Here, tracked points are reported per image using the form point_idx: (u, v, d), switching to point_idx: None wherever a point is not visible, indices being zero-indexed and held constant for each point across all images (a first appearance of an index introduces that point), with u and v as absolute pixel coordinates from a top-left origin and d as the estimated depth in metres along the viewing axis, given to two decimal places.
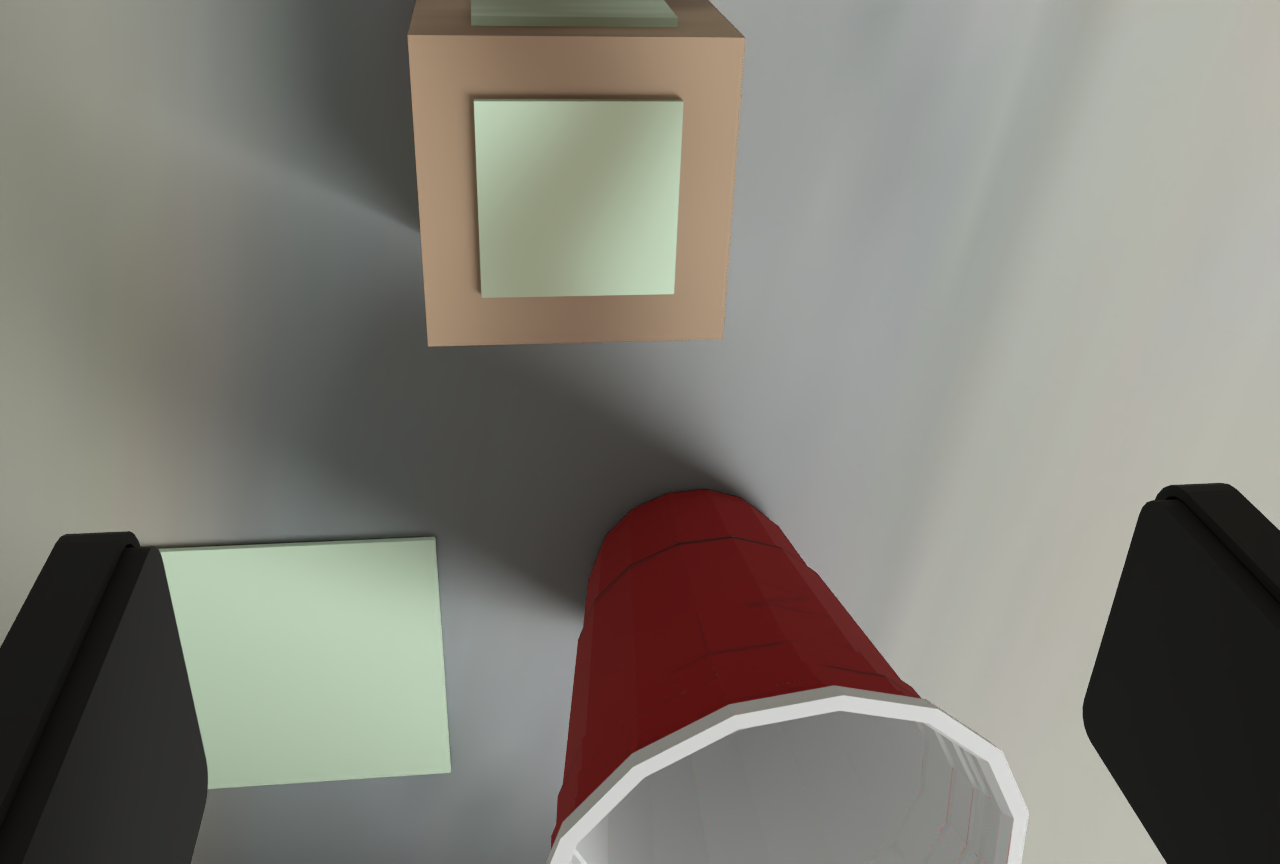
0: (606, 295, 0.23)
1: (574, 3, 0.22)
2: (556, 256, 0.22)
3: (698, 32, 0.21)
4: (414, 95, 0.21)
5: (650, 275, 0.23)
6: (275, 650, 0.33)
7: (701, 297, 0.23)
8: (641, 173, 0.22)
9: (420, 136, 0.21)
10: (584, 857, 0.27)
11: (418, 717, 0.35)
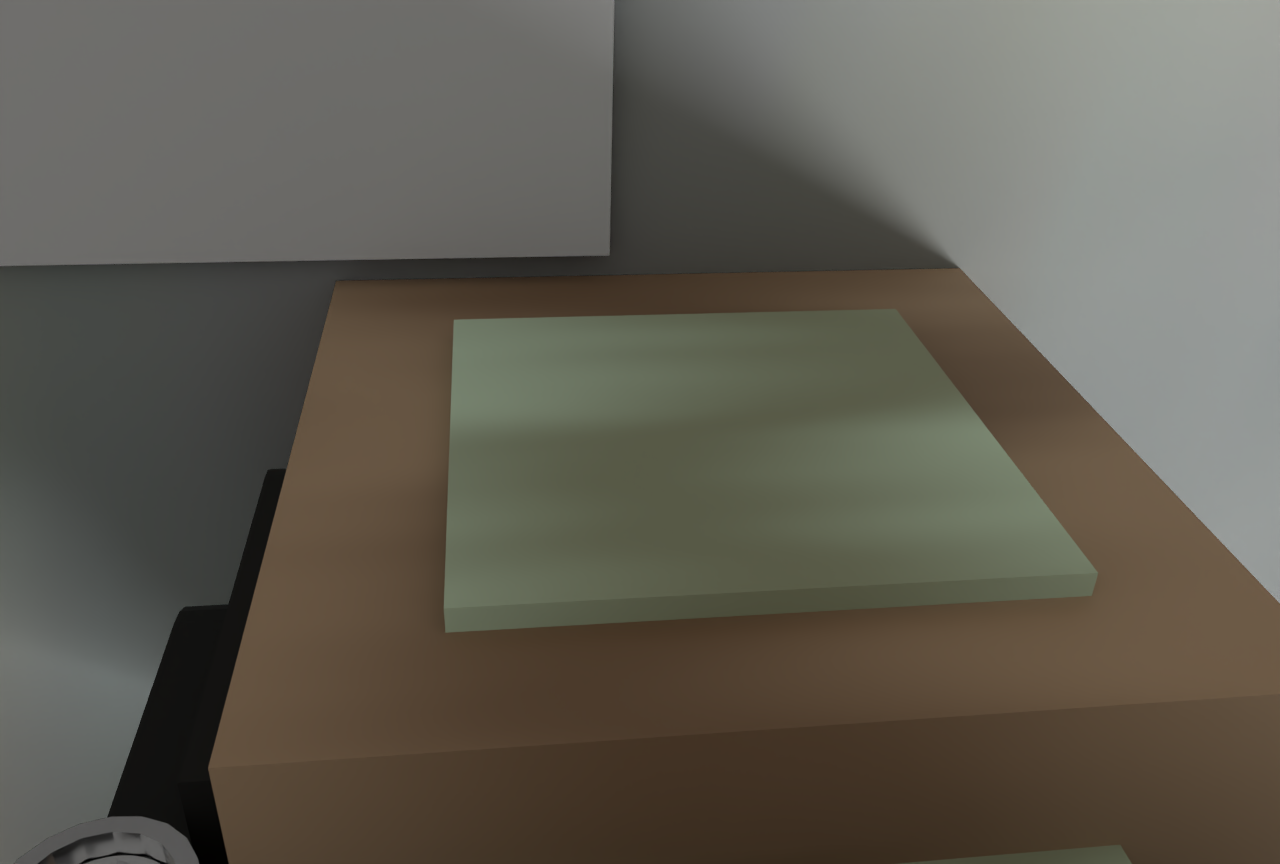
0: None
1: (747, 461, 0.08)
2: None
3: (1183, 645, 0.07)
4: None
5: None
6: None
7: None
8: None
9: None
10: None
11: None
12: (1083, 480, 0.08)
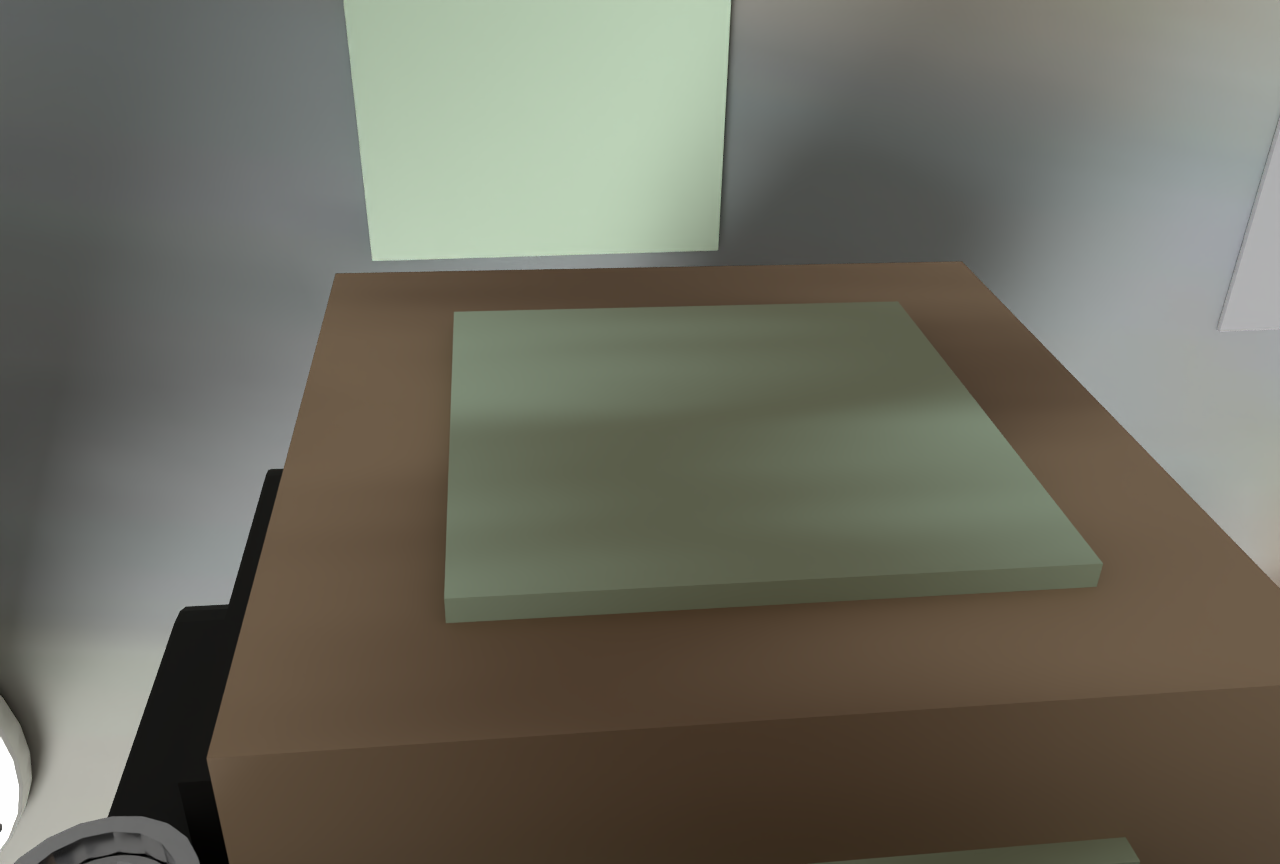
0: None
1: (749, 452, 0.08)
2: None
3: (1189, 635, 0.06)
4: None
5: None
6: (578, 68, 0.28)
7: None
8: None
9: None
10: None
11: (465, 226, 0.29)
12: (1087, 471, 0.08)
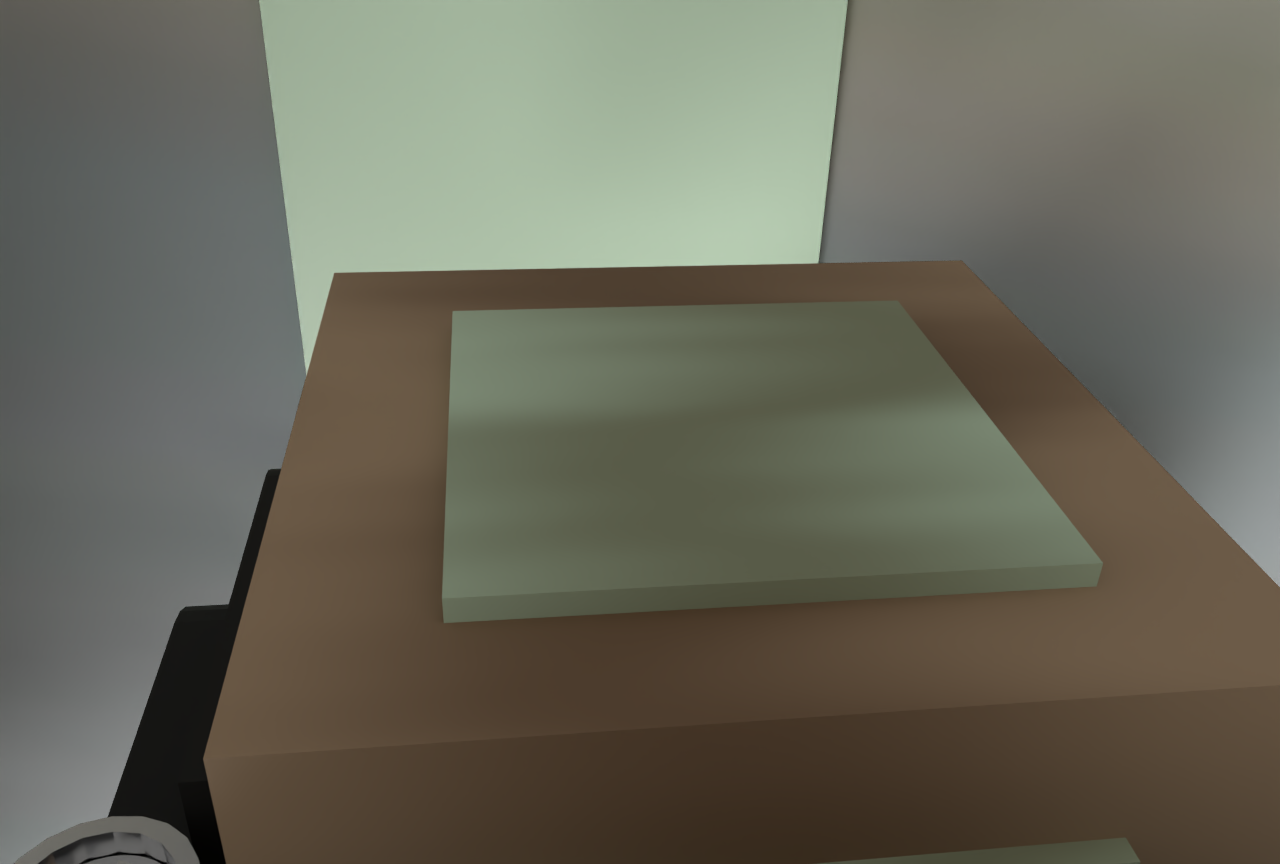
0: None
1: (748, 452, 0.08)
2: None
3: (1188, 635, 0.06)
4: None
5: None
6: (614, 250, 0.20)
7: None
8: None
9: None
10: None
11: None
12: (1087, 471, 0.08)
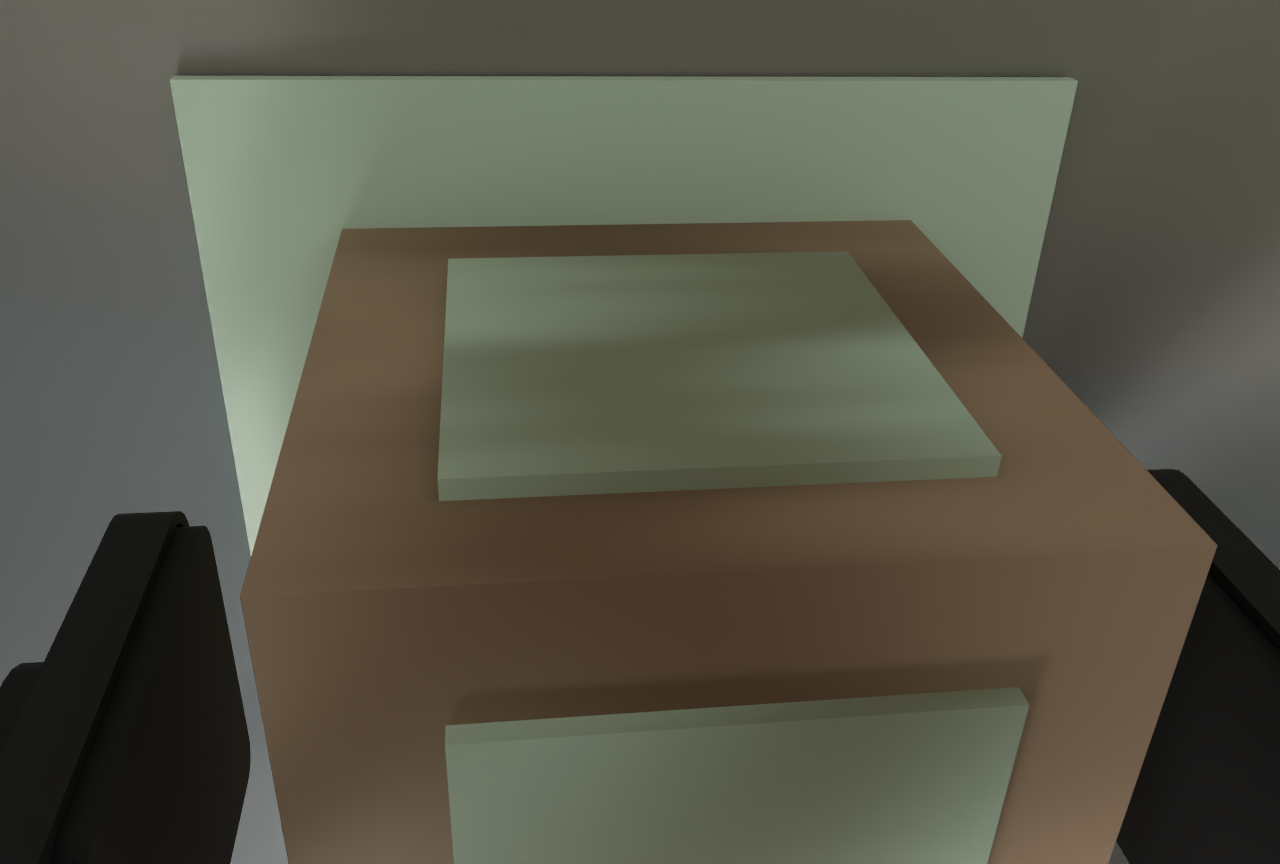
0: None
1: (704, 371, 0.09)
2: None
3: (1070, 513, 0.08)
4: (273, 729, 0.07)
5: None
6: None
7: None
8: (892, 852, 0.08)
9: (297, 814, 0.07)
10: None
11: None
12: (1001, 389, 0.09)
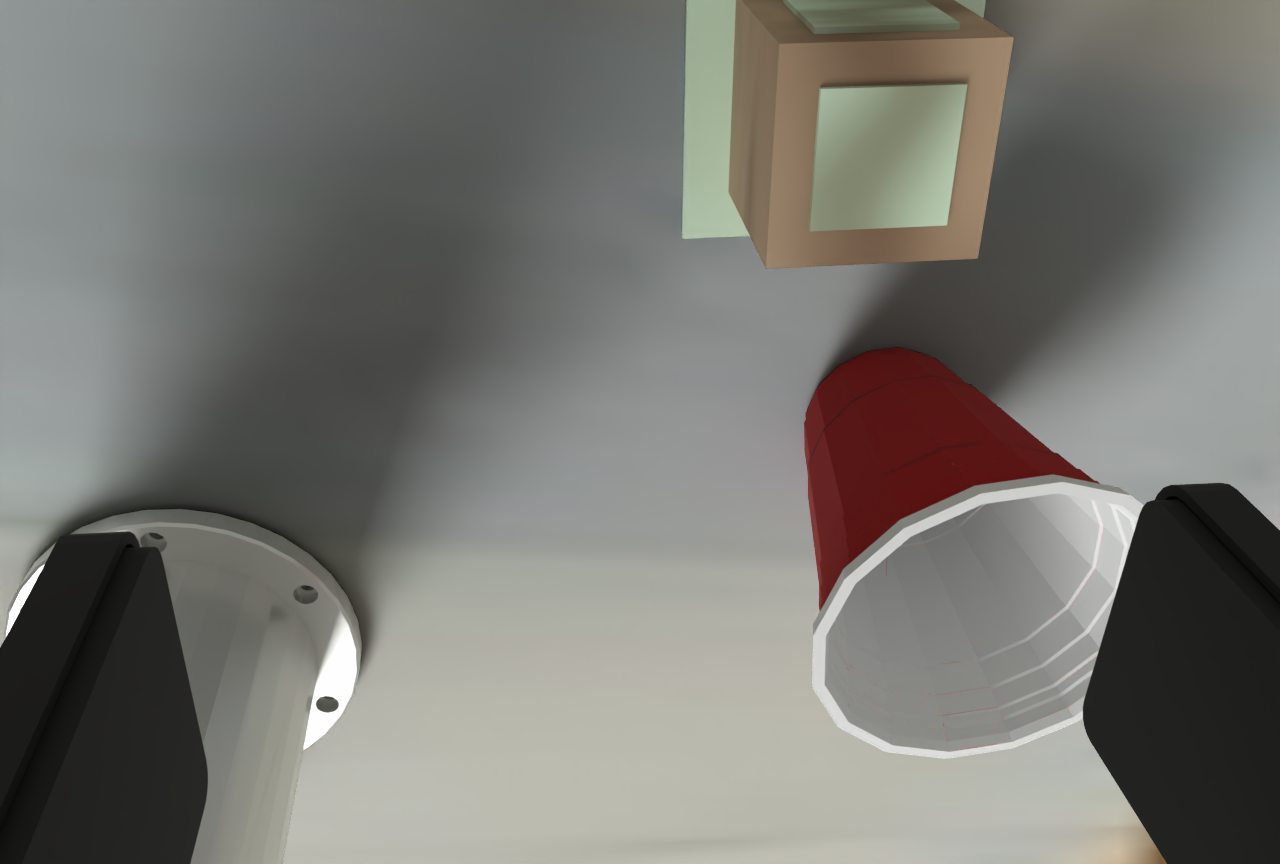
0: (897, 227, 0.31)
1: (875, 13, 0.31)
2: (866, 199, 0.31)
3: (977, 34, 0.29)
4: (778, 86, 0.29)
5: (931, 211, 0.31)
6: None
7: (965, 227, 0.32)
8: (932, 137, 0.30)
9: (779, 115, 0.29)
10: None
11: None
12: (963, 18, 0.31)
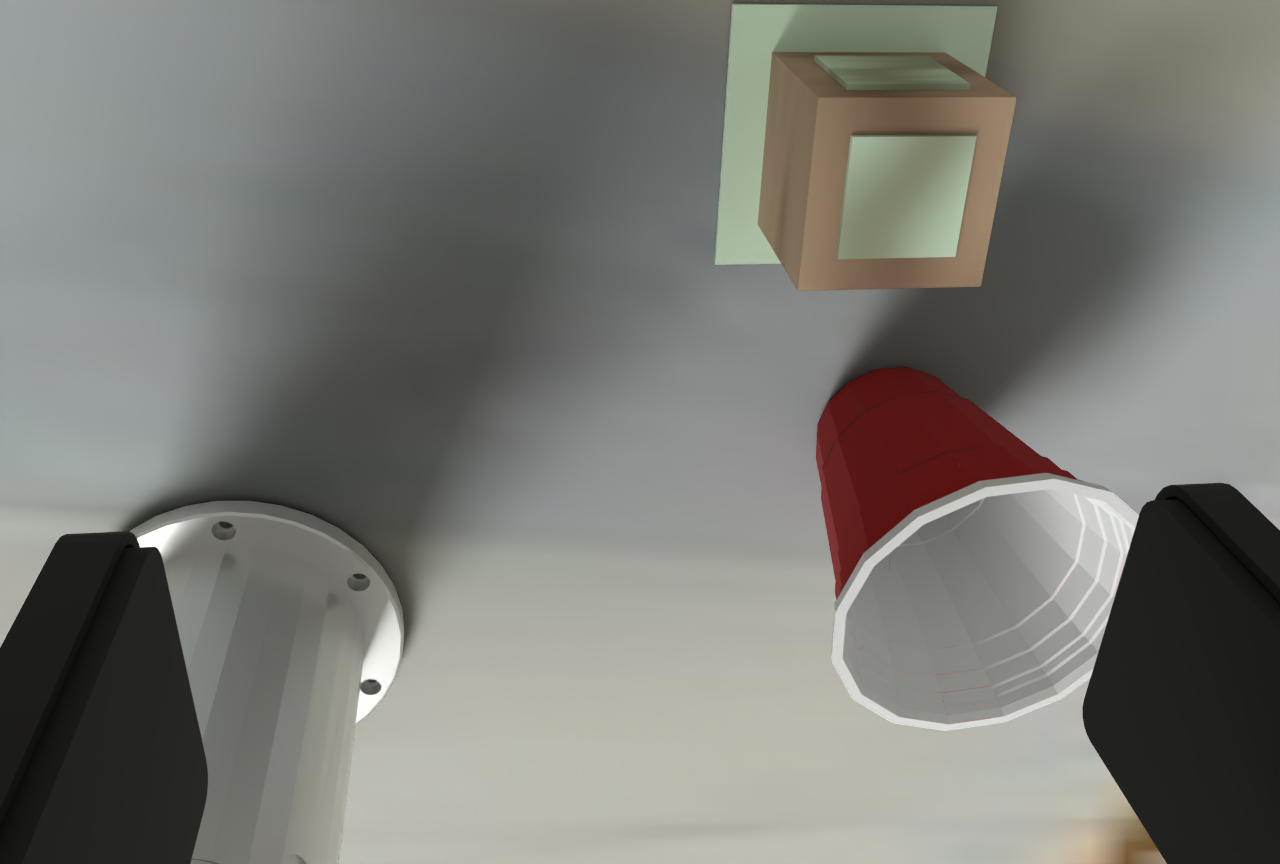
0: (913, 257, 0.36)
1: (897, 73, 0.36)
2: (886, 232, 0.35)
3: (985, 93, 0.34)
4: (816, 133, 0.34)
5: (942, 244, 0.36)
6: None
7: (970, 258, 0.36)
8: (945, 180, 0.35)
9: (815, 158, 0.34)
10: None
11: None
12: (971, 79, 0.36)
